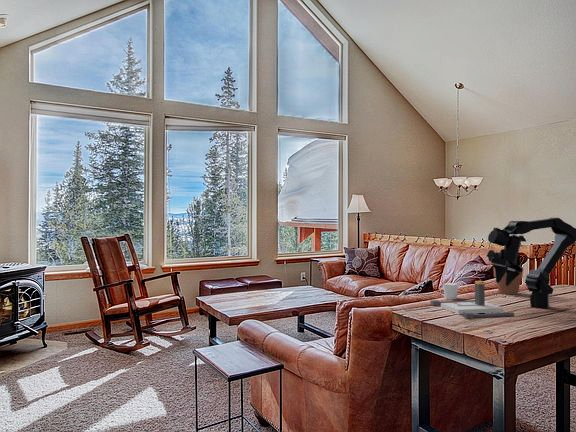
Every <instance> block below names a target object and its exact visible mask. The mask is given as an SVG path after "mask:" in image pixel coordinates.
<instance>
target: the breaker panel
mask: <svg viewBox="0 0 576 432" xmlns="http://www.w3.org/2000/svg"><path fill="white" fill-rule="evenodd" d="M441 307H442V308H441ZM440 308H441V309H443V308H444V309H443V310H445V309H447V310H446V311H448V310H449V311H448V312H450V311H452V312H451V313H453V312H455V313H458V314H463V312H471V313H473V314H475V313H485V314H486V313H490V312H503V313H504V307H503V306H498V305H496V304H492V303H489V302H486V301H485V305H478V304H475V302H457V303H455V302H452V303H441V305H440ZM455 313H454V314H455ZM458 314H457V315H458Z"/></svg>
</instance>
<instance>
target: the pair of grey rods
mask: <svg viewBox="0 0 576 432" xmlns="http://www.w3.org/2000/svg"><path fill="white" fill-rule="evenodd" d="M452 302H455V303H457V302H475V299H474V300H469V299H468V300H452V301H451V300H450V301H449V300H448V301H440V300H438V299H431V300H430V305H431V306H433V305H439V306H441V303H452ZM498 316H500V317H514V316H515V313H514V312H509V311H508V312H503V313H485V314H473V313H471V312H463V315H462V318H463V317H465V318H464V319H467V318H473V319H475V318H477V319H479V318H497V317H498ZM478 317H479V318H478ZM467 320H468V319H467Z"/></svg>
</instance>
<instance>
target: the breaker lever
mask: <svg viewBox="0 0 576 432" xmlns="http://www.w3.org/2000/svg"><path fill="white" fill-rule="evenodd" d="M485 285H486V284H485V281H483V280H475V281H474V300H475V304H478V305H485V302H486V299H485V297H486V296H485V295H486V293H485V287H486V286H485Z"/></svg>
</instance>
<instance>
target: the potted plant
mask: <svg viewBox="0 0 576 432" xmlns="http://www.w3.org/2000/svg"><path fill="white" fill-rule="evenodd" d="M518 253H519V254H520V252H519V251H518ZM516 263H517V265H520V266H521V254H520V255H519V256H517V259H516ZM492 268H493V277H494V278H495V279H496V271H495V268H494V266H493V267H492ZM519 273H520V274H519V275H518V276H517V277H516V278H515V279H514V280H513V281H512V282H511V284H510V285H509V286H506V276H507V273H505V274H504V276H503V278H502V279H501V281H500V282H499V283H497V282H496V286H497V291H498V293H499V294H502V295H508V296H509V294H515V295H518V294H519V290H520V285H521V280H522V279H523V277H524V276H523V275H524V271H523V272H522V273H521V272H519Z"/></svg>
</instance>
